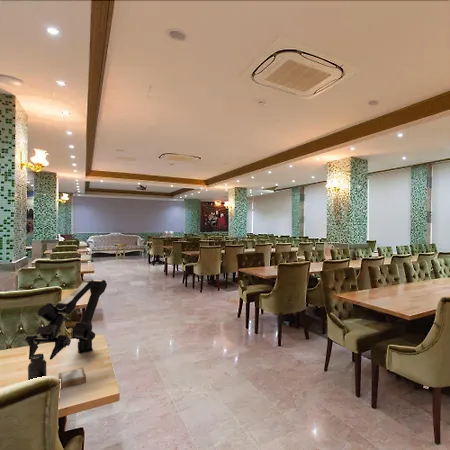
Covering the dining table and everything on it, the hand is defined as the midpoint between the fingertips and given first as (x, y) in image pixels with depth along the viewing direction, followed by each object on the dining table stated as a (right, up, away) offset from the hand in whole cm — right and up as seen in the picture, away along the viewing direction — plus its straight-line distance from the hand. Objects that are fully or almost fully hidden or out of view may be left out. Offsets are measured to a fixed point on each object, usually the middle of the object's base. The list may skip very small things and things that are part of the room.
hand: (40, 359), depth 130 cm
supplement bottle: (0, -10, -2) cm, 10 cm away
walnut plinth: (+14, -9, 0) cm, 17 cm away
